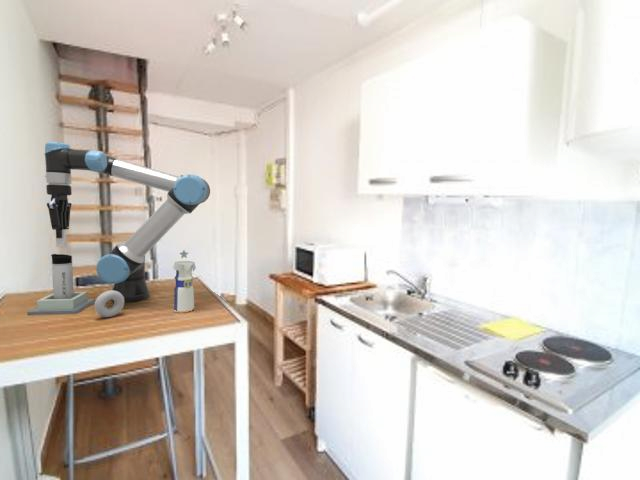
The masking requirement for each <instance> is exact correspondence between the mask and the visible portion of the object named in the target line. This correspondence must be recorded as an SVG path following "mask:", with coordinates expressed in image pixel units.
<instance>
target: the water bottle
mask: <svg viewBox="0 0 640 480" xmlns="http://www.w3.org/2000/svg"><path fill="white" fill-rule="evenodd" d="M179 254H180V255H181V259H184V258H188V257H187V255H189V252H186V250H185V249H183V250H182V252H179ZM172 269H173V270H175V271H176V273H175V276H174V280H175V286H174V295H173V301H174V302H173V311H174V310H176V311H186V310H190V309H192V308H194V309H195V298H194V295H195V294H194V293H195V292H194V286H193V279H194V276H193V273H192V272H194V271H195V270H196V264H195V261H191V260H189V261H188V260H181V261H175V262H174V263H173V265H172Z"/></svg>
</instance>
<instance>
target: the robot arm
mask: <svg viewBox="0 0 640 480" xmlns="http://www.w3.org/2000/svg"><path fill="white" fill-rule="evenodd" d="M44 156H45V180H46V183H47V184H46V187H45V188H46V195H51V197H50V202H47V203H46V207H47V210H48V214H49V219H50V225H51V229H52V230H53V231H55V244H56V245H55V247H57V248H58V247H60V248H62V247H63V248H64V247H67V230H69V229H70V220H71V208H72V206H73V205H72V203H71V202H69V199H68V196H71V195H72V193H73V191H72V186H71V184H72V172H71V171H72V170H77V171H90V172H95V173H99V174H103V175H106V176H107V175H108V176H111V177H115V178H118V179H122V180H125V181H129V182H133V183H136V184H139V185H142V186H143V185H144V186H146V187H150V188H154V189H157V190H161V191H165V192H167V194H166V197H167V199H166V200H165V201H164V202H163V203H162V204H161V205H160V207H158V209H157V210H155V211H154V213H152V215H150V217H149V218H148V219H147V220H146V221H145V222H144V223H143V224H142V225H141V226H140V227H139V228H138V229H137V230H136V231H135V232H134V233H133V234H131V236H130V237H129V238H128V239H127V240H126V241H125V242H118V243H117V244H116V245H115V246H114V247H113V248H112V250H111V251H110V252H109V253H108V254H105V255H103V256H101V258H99V260H98V261H97V262H96V268H95V269H96V273H97V275H98V277H99V278H100V279H101V280H102V281H104V282H106V283H107V284H112V285H113V286H112V289H111V290H114V291H118V292H119V293H121V294H122V295H123V297H124V301H125V302H124V303H132V302H133V301H134V302H139V301H143V299H144V300H146V298H147V299H149V297H150V290H149V286H148V284H147V282H146V262H145V261H146V255H147V254H148V253H149V251H151V250H152V249H153V247H154V246H155V245H156V244H157V243H158V242H159V241H161V239H162V238H163V237H164V236H165V235H166V234H167V233H168V232H169V231H170V230H171V229H172V228H173V227H174V226H175V224H177V222H179V220H181V218H183V216H184V215H187V214H192V212H193V211H194V210H196V208H197V207H199V205H201V204H202V203H205V202H206V201H207V200H208V199H209V197H210V195H211V187H210V185H209V183H208V182H207V181H206V180H205V179H203V178H202V177H200V176H198V175H196V174H184V175H182V174H180V175H179V176H178V175H175V174H171V173H167V172H164V171H161V170H156V169H154V168H149V167H146V166H143V165H139V164H136V163H132V162H128V161H126V160H122V159H119V158H115V157H111V156H109V155H106V153H105V152H103V151H99V150H94V149H91V150H88V149H86V150H85V149H74V148H71V146H70V144H68V143H65V142H58V141H47V142H45V145H44ZM110 301H112V302H114V300H112V299H110Z"/></svg>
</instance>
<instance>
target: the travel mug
mask: <svg viewBox="0 0 640 480" xmlns="http://www.w3.org/2000/svg"><path fill="white" fill-rule="evenodd" d="M50 256H51V267H52V268H51V270H52V293H53V297H54V299H71V298H73V297H74V296H73V292H74V275H73V256H72V255H69V254H61V253H60V254H57V253H52V254H51V255H50Z"/></svg>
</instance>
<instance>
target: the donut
mask: <svg viewBox="0 0 640 480" xmlns="http://www.w3.org/2000/svg"><path fill="white" fill-rule="evenodd" d="M111 299H112V300H114V301H113V305H112V306H111V307H106V304H107V302H108V301H109V300H110V301H111ZM125 303H126V302H125V301H124V297H123V295H122V294H121V293H119V292H118V291H114V290H112V289H111V290H105V291H104V292H102V293H101V294H99V295H98V296H97V297H96V298H95V302H94V303H93V304H94V305H93V307H94V310H95V312H96V315H98V316H99V317H103V318H111V317H114V316H117V315H118V314H119V313H120V312H121V311H122V310H123V308H124V306H125Z"/></svg>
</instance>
